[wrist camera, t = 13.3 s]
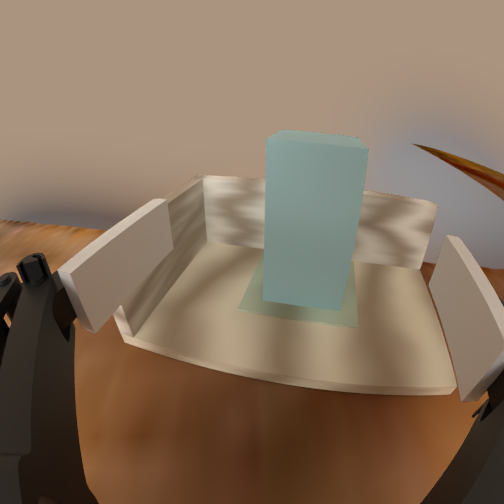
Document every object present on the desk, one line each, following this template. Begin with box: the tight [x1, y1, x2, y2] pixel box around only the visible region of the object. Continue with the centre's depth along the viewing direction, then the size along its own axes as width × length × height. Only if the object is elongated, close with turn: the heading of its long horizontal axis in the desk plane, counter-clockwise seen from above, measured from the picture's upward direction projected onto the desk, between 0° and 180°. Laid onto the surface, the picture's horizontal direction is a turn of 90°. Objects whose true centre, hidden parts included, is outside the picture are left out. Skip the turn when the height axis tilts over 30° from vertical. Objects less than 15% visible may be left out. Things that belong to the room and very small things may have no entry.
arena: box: [113, 174, 457, 395], centre depth 21 cm, size 24×16×8 cm, turn 76°
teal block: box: [263, 130, 368, 311], centre depth 21 cm, size 6×6×12 cm
